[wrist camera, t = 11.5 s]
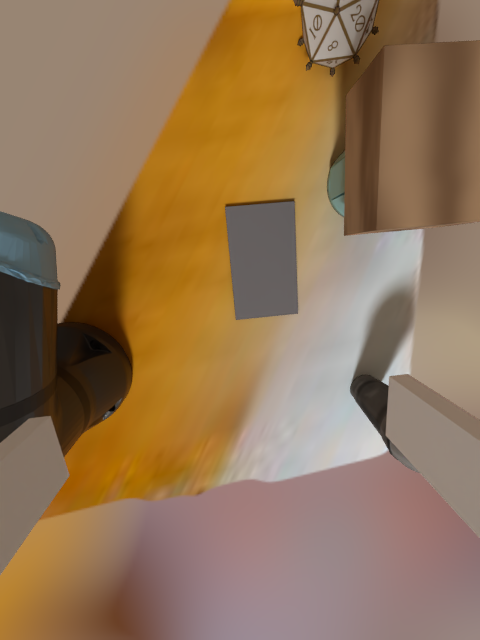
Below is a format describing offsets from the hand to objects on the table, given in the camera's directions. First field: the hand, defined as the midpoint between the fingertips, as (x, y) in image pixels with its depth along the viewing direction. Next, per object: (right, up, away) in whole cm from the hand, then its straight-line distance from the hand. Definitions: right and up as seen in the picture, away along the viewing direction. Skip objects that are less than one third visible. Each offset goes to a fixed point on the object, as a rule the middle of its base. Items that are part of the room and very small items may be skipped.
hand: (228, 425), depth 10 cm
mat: (+4, +12, +25) cm, 28 cm away
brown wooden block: (+17, +20, +16) cm, 31 cm away
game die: (+10, +36, +20) cm, 42 cm away
